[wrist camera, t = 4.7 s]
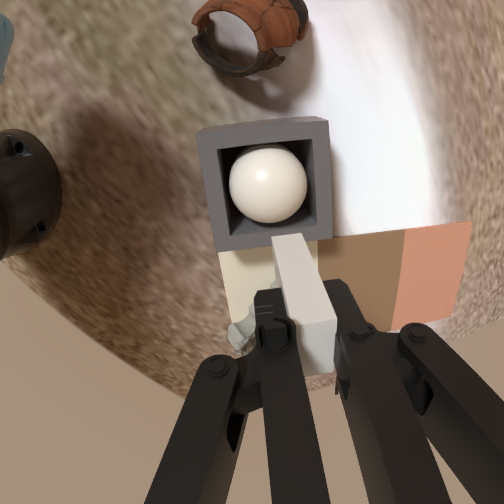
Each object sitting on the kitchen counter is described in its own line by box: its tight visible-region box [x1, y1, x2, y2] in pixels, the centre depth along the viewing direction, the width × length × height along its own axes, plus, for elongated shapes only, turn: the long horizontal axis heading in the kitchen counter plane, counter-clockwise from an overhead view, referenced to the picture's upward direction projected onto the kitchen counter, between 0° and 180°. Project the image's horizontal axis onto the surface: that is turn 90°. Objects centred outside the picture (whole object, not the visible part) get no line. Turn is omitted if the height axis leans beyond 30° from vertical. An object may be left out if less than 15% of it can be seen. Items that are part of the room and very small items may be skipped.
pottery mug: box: [192, 0, 309, 77], centre depth 22 cm, size 12×9×8 cm
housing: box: [196, 116, 333, 253], centre depth 30 cm, size 11×11×5 cm
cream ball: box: [229, 142, 307, 223], centre depth 29 cm, size 7×7×7 cm
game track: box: [218, 221, 472, 332], centre depth 39 cm, size 33×16×1 cm, turn 97°
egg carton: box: [228, 280, 277, 356], centre depth 36 cm, size 11×8×4 cm
